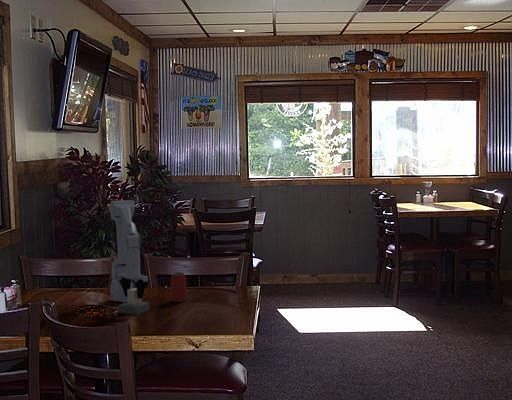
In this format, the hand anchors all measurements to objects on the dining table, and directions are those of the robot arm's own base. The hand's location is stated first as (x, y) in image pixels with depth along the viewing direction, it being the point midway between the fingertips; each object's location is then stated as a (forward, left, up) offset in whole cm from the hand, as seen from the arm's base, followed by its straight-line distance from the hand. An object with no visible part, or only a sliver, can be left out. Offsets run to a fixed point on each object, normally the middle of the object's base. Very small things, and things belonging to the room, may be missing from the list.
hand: (133, 297), depth 278 cm
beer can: (+3, +24, -6) cm, 25 cm away
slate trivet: (0, 0, -6) cm, 6 cm away
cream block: (0, 0, -3) cm, 3 cm away
